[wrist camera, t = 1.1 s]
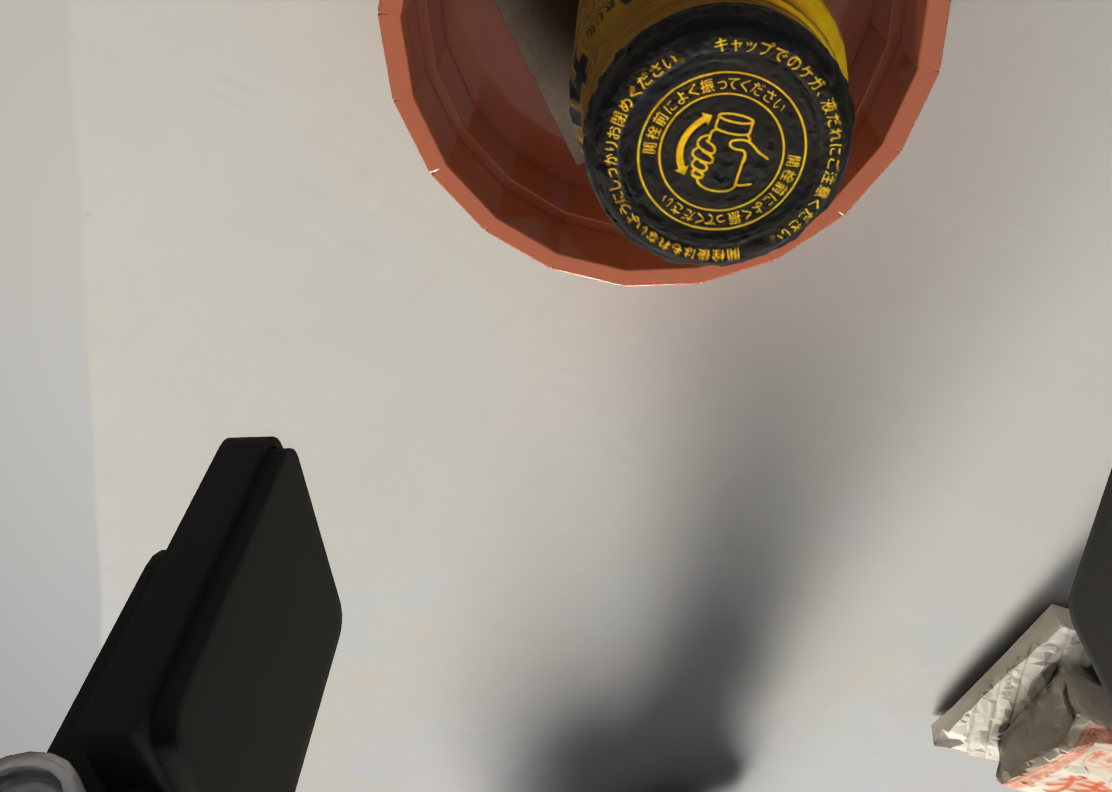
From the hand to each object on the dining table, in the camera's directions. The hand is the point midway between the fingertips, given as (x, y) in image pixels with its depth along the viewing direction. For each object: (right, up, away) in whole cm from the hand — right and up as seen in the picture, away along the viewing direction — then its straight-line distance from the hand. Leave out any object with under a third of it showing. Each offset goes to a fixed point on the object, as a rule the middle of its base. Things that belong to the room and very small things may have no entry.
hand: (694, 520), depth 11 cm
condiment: (+1, +13, +17) cm, 22 cm away
